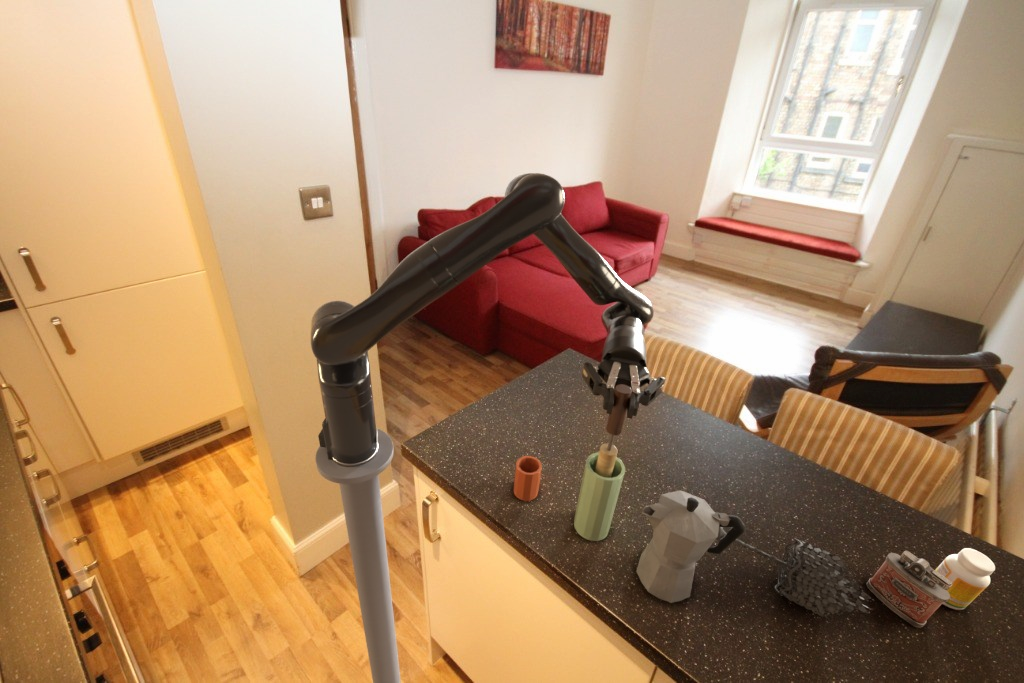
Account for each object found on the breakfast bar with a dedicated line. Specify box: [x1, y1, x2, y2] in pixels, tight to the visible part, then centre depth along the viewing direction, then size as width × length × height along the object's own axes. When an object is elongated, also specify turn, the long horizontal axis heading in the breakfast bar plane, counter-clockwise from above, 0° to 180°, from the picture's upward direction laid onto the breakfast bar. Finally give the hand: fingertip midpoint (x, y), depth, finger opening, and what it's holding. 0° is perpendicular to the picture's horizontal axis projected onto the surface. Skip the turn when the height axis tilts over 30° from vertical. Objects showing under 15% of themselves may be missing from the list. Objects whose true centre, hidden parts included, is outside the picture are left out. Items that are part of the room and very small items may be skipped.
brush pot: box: [513, 455, 543, 502], centre depth 85 cm, size 5×5×7 cm
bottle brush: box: [595, 384, 632, 478], centre depth 71 cm, size 3×3×18 cm
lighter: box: [866, 550, 952, 629], centre depth 70 cm, size 8×3×10 cm, turn 27°
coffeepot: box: [635, 489, 747, 604], centre depth 69 cm, size 15×9×18 cm, turn 85°
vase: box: [573, 451, 626, 542], centre depth 78 cm, size 6×6×15 cm
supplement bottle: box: [935, 547, 996, 611], centre depth 72 cm, size 5×5×10 cm
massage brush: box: [715, 527, 875, 620], centre depth 72 cm, size 9×22×9 cm, turn 58°
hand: (620, 411), depth 65 cm, fingers closed on bottle brush, 2 cm apart
